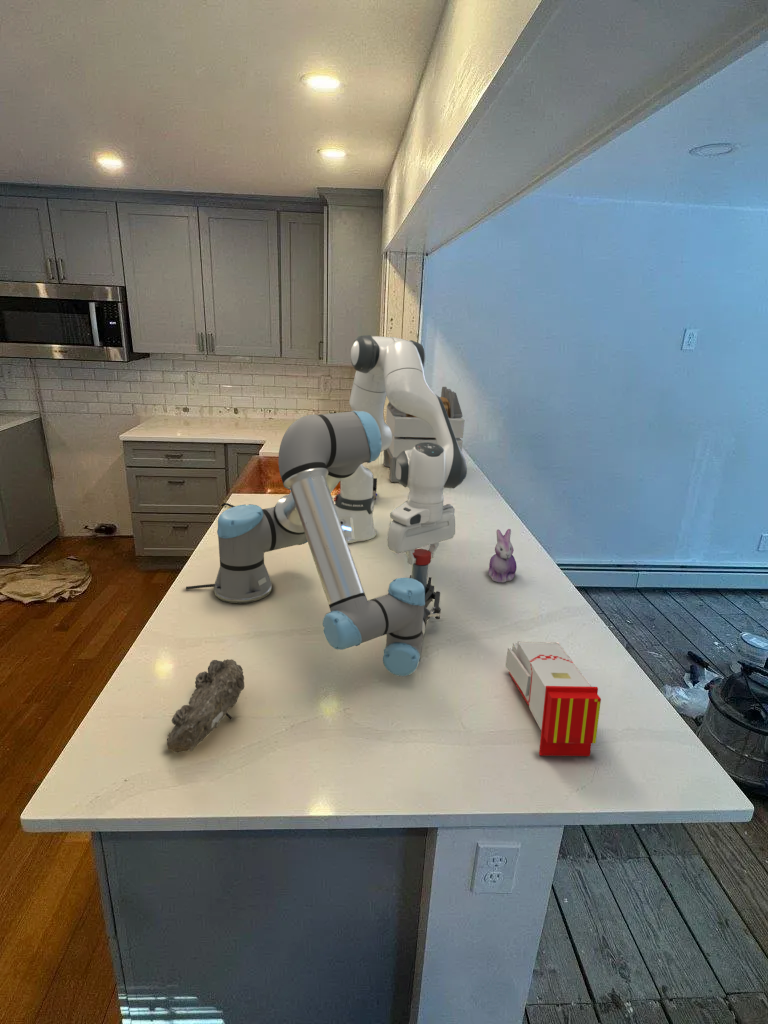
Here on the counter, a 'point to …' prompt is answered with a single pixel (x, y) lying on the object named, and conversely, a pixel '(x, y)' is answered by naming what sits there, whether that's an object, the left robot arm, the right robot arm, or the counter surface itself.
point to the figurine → (502, 559)
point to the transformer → (419, 429)
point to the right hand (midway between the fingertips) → (420, 560)
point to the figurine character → (374, 487)
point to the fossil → (206, 705)
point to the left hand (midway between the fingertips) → (420, 580)
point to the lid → (422, 556)
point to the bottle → (420, 574)
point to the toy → (556, 697)
